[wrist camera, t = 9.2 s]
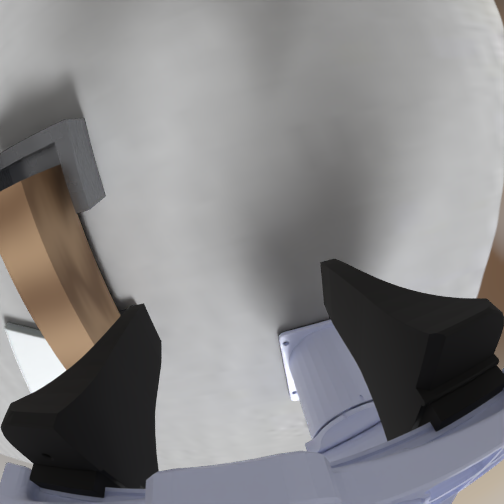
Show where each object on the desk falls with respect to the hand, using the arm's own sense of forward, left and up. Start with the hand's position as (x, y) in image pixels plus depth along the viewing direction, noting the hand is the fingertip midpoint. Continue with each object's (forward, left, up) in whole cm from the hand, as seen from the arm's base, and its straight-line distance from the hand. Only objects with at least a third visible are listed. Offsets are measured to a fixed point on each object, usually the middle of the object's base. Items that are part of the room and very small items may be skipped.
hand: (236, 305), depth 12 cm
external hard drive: (-11, +21, -10) cm, 26 cm away
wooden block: (0, +11, -8) cm, 14 cm away
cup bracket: (+6, +11, -9) cm, 16 cm away
